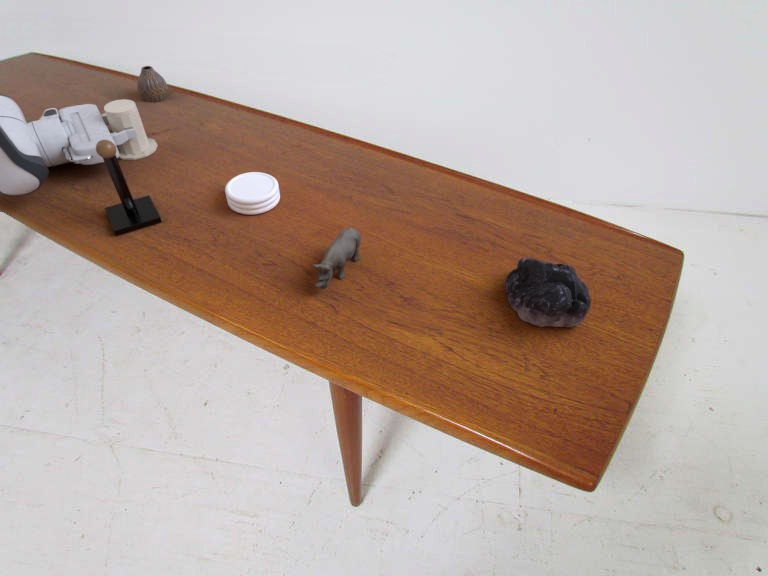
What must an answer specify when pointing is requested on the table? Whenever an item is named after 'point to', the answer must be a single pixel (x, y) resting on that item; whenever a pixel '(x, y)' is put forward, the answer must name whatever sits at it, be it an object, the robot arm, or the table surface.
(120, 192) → the stand
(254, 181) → the white round stack
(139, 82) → the vase
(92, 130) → the robot arm
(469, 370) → the table surface
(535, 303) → the crystal cluster
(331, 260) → the rhino figurine
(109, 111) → the hat
